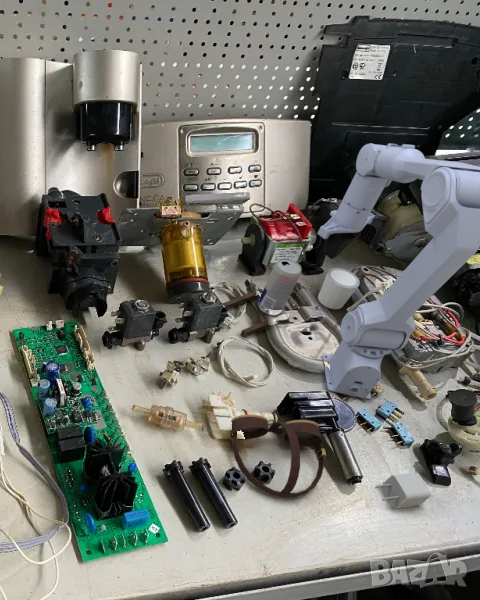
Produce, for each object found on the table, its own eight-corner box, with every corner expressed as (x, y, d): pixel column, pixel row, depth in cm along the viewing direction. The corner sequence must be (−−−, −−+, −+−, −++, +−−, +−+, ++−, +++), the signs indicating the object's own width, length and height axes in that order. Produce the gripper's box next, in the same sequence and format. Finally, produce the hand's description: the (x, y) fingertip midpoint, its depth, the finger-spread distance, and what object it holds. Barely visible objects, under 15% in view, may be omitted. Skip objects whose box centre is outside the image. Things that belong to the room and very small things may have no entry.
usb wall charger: (419, 506, 84) (432, 494, 81) (380, 511, 83) (393, 499, 80) (404, 483, 87) (416, 470, 84) (366, 487, 86) (378, 475, 83)
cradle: (258, 293, 119) (261, 288, 118) (287, 319, 113) (290, 314, 112) (215, 310, 113) (216, 305, 112) (243, 338, 108) (245, 333, 107)
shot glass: (308, 294, 120) (320, 271, 115) (330, 287, 122) (343, 264, 118) (330, 314, 116) (343, 290, 111) (352, 307, 118) (366, 283, 113)
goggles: (309, 430, 92) (336, 408, 84) (322, 508, 85) (353, 492, 77) (223, 421, 92) (241, 398, 84) (228, 498, 85) (249, 482, 77)
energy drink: (272, 297, 118) (292, 256, 110) (286, 314, 114) (307, 272, 106) (252, 301, 116) (270, 259, 108) (265, 318, 113) (285, 276, 105)
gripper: (365, 185, 110) (337, 237, 119) (318, 199, 104) (293, 253, 113) (393, 202, 106) (363, 255, 115) (346, 218, 100) (318, 272, 109)
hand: (330, 255), depth 114 cm, fingers closed
